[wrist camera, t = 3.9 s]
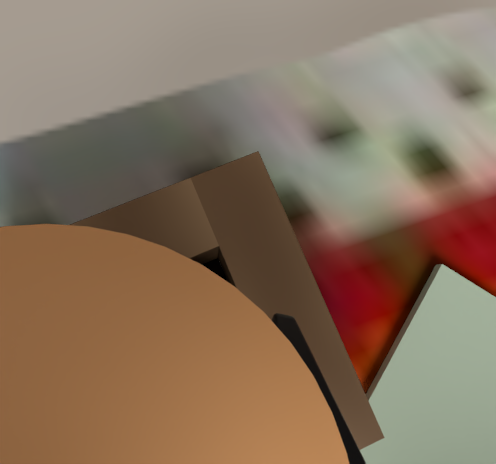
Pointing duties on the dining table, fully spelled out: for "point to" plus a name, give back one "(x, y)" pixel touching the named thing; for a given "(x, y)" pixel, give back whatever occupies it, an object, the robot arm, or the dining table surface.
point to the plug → (144, 360)
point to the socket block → (249, 261)
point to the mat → (439, 379)
